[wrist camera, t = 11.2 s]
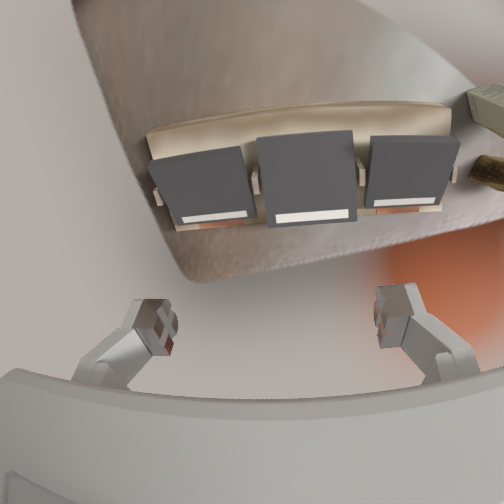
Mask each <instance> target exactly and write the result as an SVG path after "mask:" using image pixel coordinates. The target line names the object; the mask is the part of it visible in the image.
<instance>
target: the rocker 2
mask: <svg viewBox="0 0 504 504" xmlns="http://www.w3.org/2000/svg"><path fill="white" fill-rule="evenodd" d="M459 147H460V142H459V140H458V139H457V137H456V136H427V135H381V136H370V145H369V156H368V166H367V175H366V183H365V192H364V199H363V203H364V207H365V209H374V208H392V207H410V206H432V205H439V204H440V202H441V199H442V196H443V194H444V191H445V188H446V186H447V183H448V180H449V177H450V174H451V171H452V169H453V166H454V163H455V160H456V156H457V153H458V150H459Z"/></svg>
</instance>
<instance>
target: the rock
mask: <svg viewBox="0 0 504 504" xmlns="http://www.w3.org/2000/svg"><path fill="white" fill-rule="evenodd" d="M469 180H470V181H473V180H474V181H475V182H477V183H482V184H485V185H487V186H490V187H491V188H494V189H495V190H498V191H503V192H504V159H503V158H498V157H492V156H491V157H489V156H487V155H483V156H481V157H480V159H479V160H478V161H477V163H476V164H475V165H474V167H473V169H472V171H471V174H470V177H469Z"/></svg>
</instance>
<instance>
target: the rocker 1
mask: <svg viewBox="0 0 504 504" xmlns="http://www.w3.org/2000/svg"><path fill="white" fill-rule="evenodd" d="M147 169H148V171H149V173H150V175H151V177H152V179H153V181H154V183H155V184H156V186H157V188H158V190H159V192H160V194H161V195H162V197H163V199H164V201H165V203H166V205H167V206H168V208H169V210H170V212H171V214H172V215H173V217H174V219H175V221H176V223H177V224H178V226H182V225H191V224H201V223H210V222H220V221H231V220H241V219H252V218H257V209H256V205H255V201H254V197H253V193H252V189H251V185H250V182H249V178H248V174H247V170H246V166H245V162H244V158H243V155H242V151H241V147H240V146H234V147H226V148H219V149H213V150H206V151H200V152H194V153H188V154H182V155H177V156H171V157H166V158H161V159H156V160H151V161H149V163H148V166H147Z"/></svg>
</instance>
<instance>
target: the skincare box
mask: <svg viewBox="0 0 504 504" xmlns="http://www.w3.org/2000/svg"><path fill="white" fill-rule="evenodd" d="M467 96H468V100H469V105H470V109H471V113H472V117H473V120H474V121H475V122H477V123H479V124H481V125H482V126H484V127H486V128H487V129H489V130H491V131H492V132H494V133H496V134H497V135H499V136H500V137H502V138H504V85H503V84H501V83H493V84H489V85H485V86H482V87H479V88H475V89H473V90H470V91H467Z"/></svg>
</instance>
